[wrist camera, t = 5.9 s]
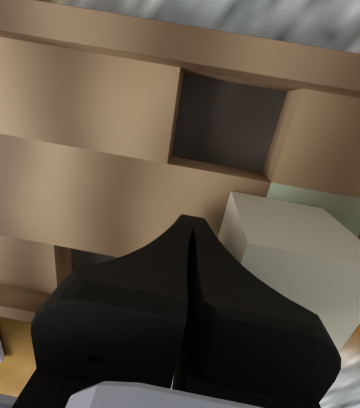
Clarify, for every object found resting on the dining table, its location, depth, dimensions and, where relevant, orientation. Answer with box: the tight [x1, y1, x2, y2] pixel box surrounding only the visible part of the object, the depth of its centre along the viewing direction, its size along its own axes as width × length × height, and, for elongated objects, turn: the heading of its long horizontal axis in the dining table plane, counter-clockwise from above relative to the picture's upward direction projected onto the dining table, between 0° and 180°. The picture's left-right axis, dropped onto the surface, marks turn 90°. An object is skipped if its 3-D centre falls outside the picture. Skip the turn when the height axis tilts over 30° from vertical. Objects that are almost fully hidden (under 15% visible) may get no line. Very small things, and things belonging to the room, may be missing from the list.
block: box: [218, 191, 360, 352], centre depth 10 cm, size 4×4×4 cm
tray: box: [0, 0, 360, 323], centre depth 12 cm, size 22×16×4 cm
